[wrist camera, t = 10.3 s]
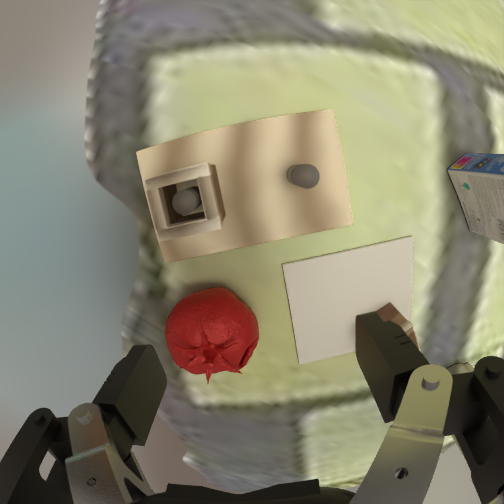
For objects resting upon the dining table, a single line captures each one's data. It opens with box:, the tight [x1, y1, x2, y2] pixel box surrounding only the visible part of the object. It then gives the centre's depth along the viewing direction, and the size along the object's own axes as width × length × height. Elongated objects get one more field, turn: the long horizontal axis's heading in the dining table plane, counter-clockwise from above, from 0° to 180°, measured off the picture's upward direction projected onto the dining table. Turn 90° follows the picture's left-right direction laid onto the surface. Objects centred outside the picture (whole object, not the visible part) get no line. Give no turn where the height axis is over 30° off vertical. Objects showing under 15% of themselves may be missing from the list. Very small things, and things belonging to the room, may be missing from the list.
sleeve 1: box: [144, 162, 226, 242], centre depth 24 cm, size 5×5×6 cm
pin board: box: [136, 109, 353, 263], centre depth 24 cm, size 20×12×6 cm, turn 102°
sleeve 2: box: [376, 302, 421, 352], centre depth 29 cm, size 5×5×6 cm
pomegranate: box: [165, 287, 259, 383], centre depth 27 cm, size 10×10×9 cm
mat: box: [282, 236, 414, 365], centre depth 31 cm, size 16×14×1 cm
